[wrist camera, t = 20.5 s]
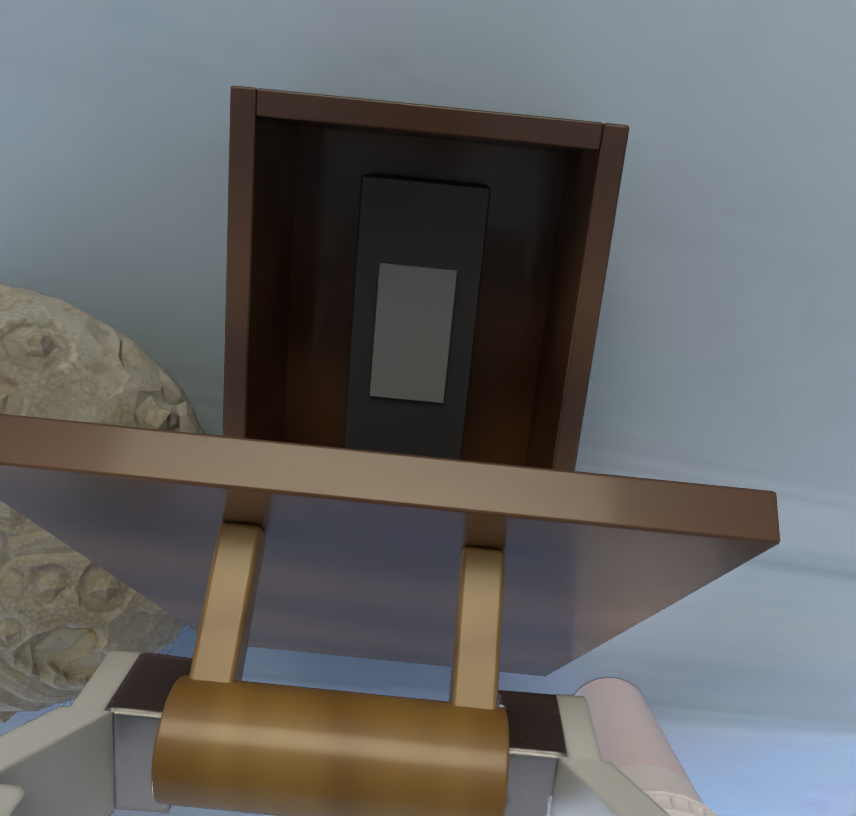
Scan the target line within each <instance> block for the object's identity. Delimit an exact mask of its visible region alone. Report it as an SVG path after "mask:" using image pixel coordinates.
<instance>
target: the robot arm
mask: <svg viewBox="0 0 856 816" xmlns="http://www.w3.org/2000/svg"><path fill="white" fill-rule="evenodd" d="M192 659H193V658H186V657H178V656H170V655H162V654H154V653H146V652H144V653H142V652H137V651H127V650H117V649H115V650H113V651H111V652H109V653H108V655H107V656H106V657H105V659H104V660H103V662H102V663H101V664H100V666H99V667H98V668H97V670H96V671H95V673H94V674H93V675H92V677H91V678H90V680H89V681H88V682H87V684H86V685H85V687H84V688H83V689H82V691H81V692H80V694H79V695H78V696H77V698H76V699H75V701H74V702H73V703H72V705H71V706H70V707H65V706H61V707H59V708H57V709H55V710H53V711H51V712H48V713H46V714H44V715H42V716H40V717H38V718H36V719H34V720H32V721H30V722H28V723H26V724H24V725H22V726H20V727H18V728H15V729H13V730H11V731H9V732H7V733H5V734H3V735H1V736H0V816H110V815H111V814H112V813H114V809H120V810H134V811H148V812H162V813H168V812H169V810H170V808H171V805H165V804H158V803H157V802H156V801H155V800H154V798H153V795H152V789H151V765H152V756H153V749H154V743H155V738H156V733H157V729H158V725H159V721H160V717H161V714H162V711H163V708H164V705H165V702H166V700H167V697H168V695H169V693H170V691H171V689H172V687H173V685H174V684H175V682H176V681H177V680H178V679H179V678H180V677H182V676H184V675H188V676H189V674H190V669H191V664H192ZM497 707H503V708H505V710H506V713H507V717H508V724H509V777H508V791H507V801H506V810H505V816H671V815H669V814H668V813H667V812H666V811H665V810H664V809H663V808H662V807H660V806H659V805H658V804H657V803H656V802H655V801H654V800H653V799H652V798H650V797H649V796H648V795H647V794H646V793H645V792H644V791H643V790H641V789H640V788H639V787H638V786H637V785H636V784H635V783H634V782H633V781H631V780H630V779H629V778H628V777H627V776H626V775H625V774H624V773H622V772H621V771H620V770H619V769H618V768H617V767H616V766H615V765H614V764H612V763H611V762H609V761H602V758H601V754H600V750H599V746H598V743H597V739H596V735H595V731H594V727H593V723H592V719H591V715H590V711H589V707H588V703H587V699H586V698H585V697H584V696H575V695H560V694H555V695H550V694H539V693H527V692H516V691H504V690H498V698H497Z"/></svg>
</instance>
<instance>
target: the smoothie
mask: <svg viewBox="0 0 856 816" xmlns="http://www.w3.org/2000/svg"><path fill="white" fill-rule="evenodd" d="M575 696H584V697H585V698H586V699H587V703H588V707H589V711H590V715H591V719H592V723H593V727H594V731H595V735H596V739H597V743H598V746H599V750H600V754H601V758H602V761H609V762H611V763H612V764H614V765H615V766H616V767H617V768H618V769H619V770H620V771H621V772H622V773H624V774H625V775H626V776H627V777H628V778H629V779H630V780H631V781H633V782H634V783H635V784H636V785H637V786H638V787H639V788H640V789H641V790H643V791H644V792H645V793H646V794H647V795H648V796H649V797H650V798H652V799H653V800H654V801H655V802H656V803H657V804H658V805H659V806H660V807H662V808H663V809H664V810H665V811H666V812H667V813H668V814H669V815H671V816H718V815H717V814H715V813H714V812H713V811H712V810H710V809H709V808H708V807H707V806H706V805H704V804H703V802H702V800H701V798H700V796H699V794H698V793H697V791H696V790H695V788H694V786H693V784H692V783H691V781H690V779H689V777H688V776H687V774H686V772H685V770H684V769H683V767H682V765H681V763H680V762H679V760H678V758H677V756H676V754H675V753H674V751H673V749H672V747H671V746H670V744H669V742H668V740H667V739H666V737H665V735H664V733H663V732H662V730H661V728H660V726H659V724H658V723H657V721H656V719H655V717H654V716H653V714H652V712H651V710H650V709H649V707H648V705H647V703H646V702H645V700H644V698H643V696H642V695H641V693H640V692H639V690H638V689H637V688H636V687H634V686H633V685H632V684H630V683H628V682H626V681H624V680H621V679H616V678H602V679H597V680H594V681H591V682H589V683H587V684H586V685H584V686H583V687H581V688H580V689H579V690H578V691H577V692H576V694H575Z"/></svg>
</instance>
